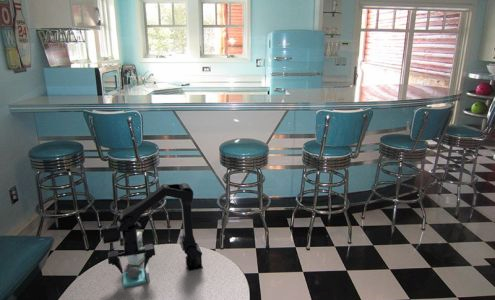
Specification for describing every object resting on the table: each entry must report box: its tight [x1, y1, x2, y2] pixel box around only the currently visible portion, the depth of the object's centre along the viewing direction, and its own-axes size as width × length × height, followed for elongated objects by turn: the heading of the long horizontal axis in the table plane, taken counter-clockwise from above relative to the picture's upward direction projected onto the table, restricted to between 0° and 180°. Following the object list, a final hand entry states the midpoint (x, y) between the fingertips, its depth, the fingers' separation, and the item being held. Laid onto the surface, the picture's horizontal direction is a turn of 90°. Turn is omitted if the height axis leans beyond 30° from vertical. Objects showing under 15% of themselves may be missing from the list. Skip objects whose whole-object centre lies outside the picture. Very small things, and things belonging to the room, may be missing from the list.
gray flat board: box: [144, 263, 151, 283], centre depth 153 cm, size 1×11×4 cm, turn 20°
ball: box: [127, 266, 140, 279], centre depth 149 cm, size 5×5×5 cm
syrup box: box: [126, 230, 144, 266], centre depth 161 cm, size 6×6×14 cm
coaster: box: [122, 267, 147, 288], centre depth 150 cm, size 9×9×1 cm
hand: (133, 270), depth 149 cm, fingers open, 9 cm apart
